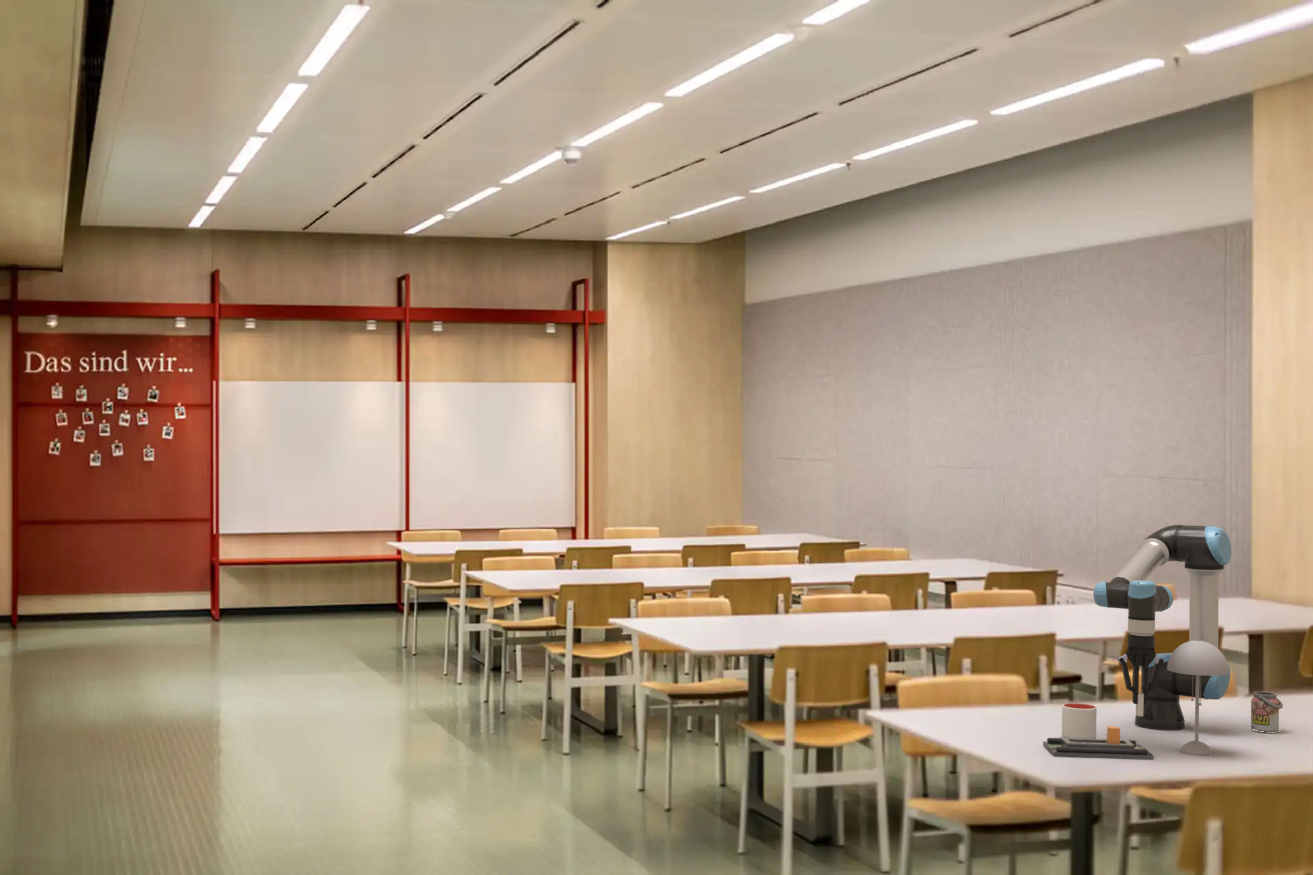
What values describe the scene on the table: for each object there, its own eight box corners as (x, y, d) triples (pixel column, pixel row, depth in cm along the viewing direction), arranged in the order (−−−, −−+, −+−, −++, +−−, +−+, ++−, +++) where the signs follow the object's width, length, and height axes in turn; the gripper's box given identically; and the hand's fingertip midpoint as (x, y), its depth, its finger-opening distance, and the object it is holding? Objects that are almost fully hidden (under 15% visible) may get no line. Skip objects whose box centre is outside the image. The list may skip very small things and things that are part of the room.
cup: (1078, 743, 448) (1078, 710, 448) (1054, 737, 457) (1055, 704, 457) (1103, 740, 453) (1103, 707, 453) (1079, 734, 462) (1080, 702, 462)
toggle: (1118, 747, 436) (1119, 726, 436) (1121, 749, 433) (1122, 728, 433) (1104, 747, 436) (1105, 726, 436) (1107, 749, 433) (1107, 728, 433)
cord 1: (1134, 744, 441) (1134, 740, 441) (1136, 745, 440) (1136, 740, 440) (1046, 742, 443) (1046, 737, 443) (1047, 743, 442) (1047, 738, 442)
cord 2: (1146, 753, 428) (1146, 748, 428) (1147, 754, 427) (1147, 749, 427) (1055, 751, 430) (1055, 746, 430) (1056, 752, 429) (1056, 747, 429)
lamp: (1220, 760, 427) (1222, 644, 427) (1159, 752, 436) (1161, 639, 436) (1232, 750, 442) (1234, 638, 442) (1173, 743, 451) (1175, 633, 451)
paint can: (1286, 731, 473) (1286, 693, 473) (1276, 735, 466) (1276, 696, 466) (1256, 727, 479) (1257, 690, 479) (1246, 731, 473) (1247, 693, 473)
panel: (1139, 748, 442) (1139, 737, 442) (1153, 759, 426) (1153, 748, 426) (1043, 745, 444) (1043, 734, 444) (1053, 756, 428) (1054, 745, 428)
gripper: (1160, 633, 437) (1158, 714, 437) (1115, 631, 438) (1113, 712, 438) (1167, 636, 430) (1165, 718, 430) (1121, 634, 431) (1119, 716, 431)
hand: (1139, 715), depth 434 cm, fingers closed
